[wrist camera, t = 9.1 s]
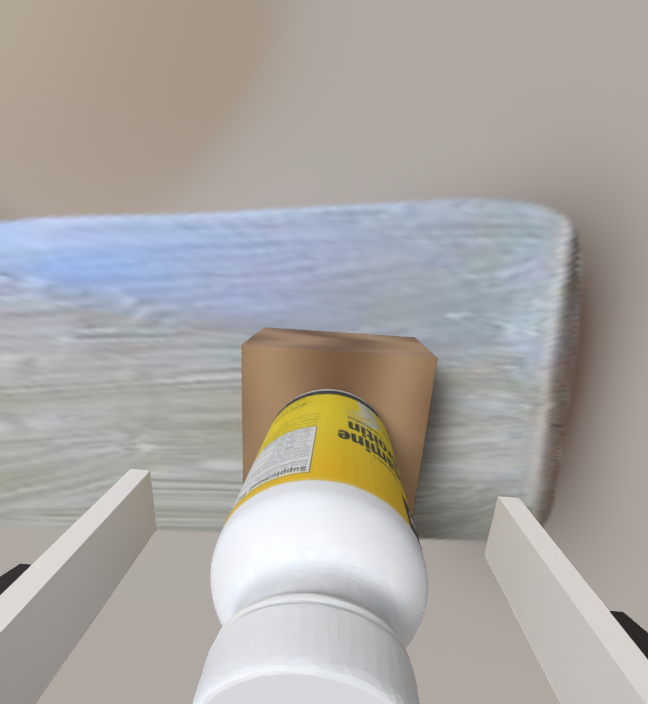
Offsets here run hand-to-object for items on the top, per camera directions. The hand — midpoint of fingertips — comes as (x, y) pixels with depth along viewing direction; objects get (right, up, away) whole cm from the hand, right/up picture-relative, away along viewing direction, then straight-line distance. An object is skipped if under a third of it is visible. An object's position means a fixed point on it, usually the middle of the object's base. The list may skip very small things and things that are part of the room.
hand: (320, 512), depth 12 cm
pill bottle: (0, +1, +6) cm, 6 cm away
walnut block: (+1, +3, +10) cm, 11 cm away
